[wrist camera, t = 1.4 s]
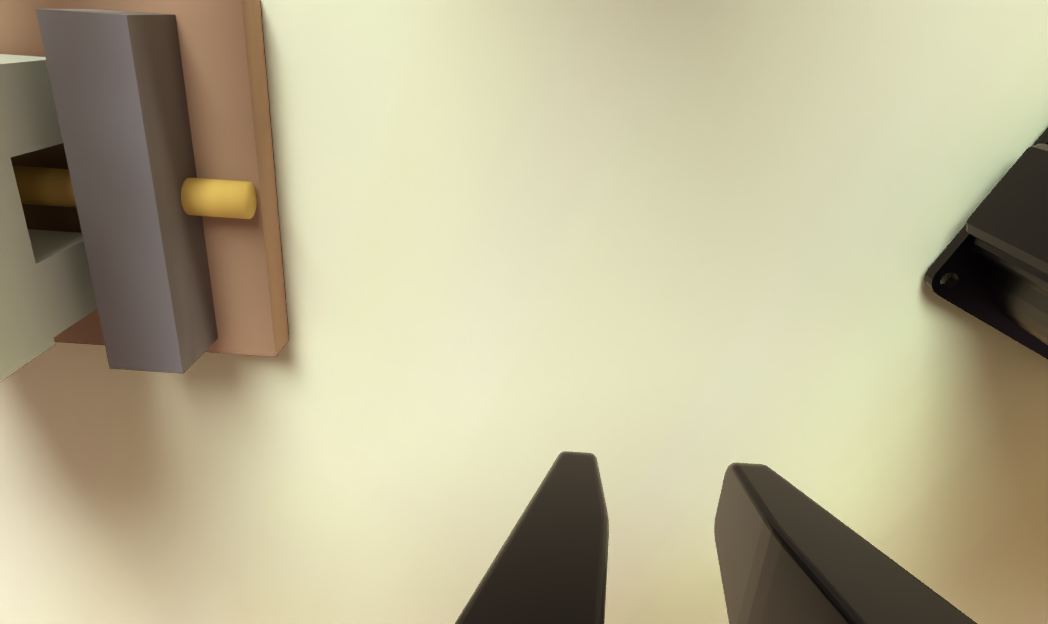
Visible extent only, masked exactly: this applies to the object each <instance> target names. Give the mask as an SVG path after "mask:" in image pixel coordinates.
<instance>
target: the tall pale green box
mask: <svg viewBox="0 0 1048 624" xmlns="http://www.w3.org/2000/svg"><path fill="white" fill-rule="evenodd" d="M62 143H63V139H62V134H61V129H60V125H59V120H58V115H57V110H56V105H55V100H54V96H53V91H52V86H51V81H50V76H49V71H48V67H47V62H46V57H37V56H23V55H8V54H0V382H1V381H3V380H4V379H5V378H7V377H8V376H10V375H11V374H13V373H14V372H16V371H17V370H19V369H20V368H22V367H23V366H25V365H26V364H27V363H29V362H30V361H32V360H33V359H35V358H36V357H38V356H39V355H41V354H42V353H44V352H45V351H47V350H48V349H49V348H51V347H52V346H54V345H55V341H54V337H55V336H57V335H58V334H60V333H61V332H63V331H64V330H66V329H67V328H69V327H70V326H72V325H73V324H75V323H76V322H78V321H79V320H81V319H82V318H84V317H85V316H87V315H88V314H90V313H91V312H93V311H94V310H96V309H97V303H96V299H95V294H94V289H93V284H92V279H91V274H90V270H89V265H88V260H87V255H86V250H85V245H84V241H83V236H82V233H77V232H62V231H47V230H32V229H27V225H26V220H25V216H24V212H23V208H22V204H21V200H20V195H19V191H18V187H17V183H16V179H15V174H14V170H13V166H12V162H11V157H14V156H18V155H22V154H25V153H29V152H33V151H36V150H40V149H44V148H47V147H51V146H55V145H58V144H62Z"/></svg>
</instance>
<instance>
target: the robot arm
mask: <svg viewBox="0 0 1048 624" xmlns="http://www.w3.org/2000/svg"><path fill="white" fill-rule="evenodd" d="M947 273H951V277H950V278H949V280H948V281H947V282H945V283H943V284H940V280H941V279H942V277H943V276H944V275H945V274H947ZM925 284H926V286H927V287H928V288H929V289H930V290H931V291H933V292H934V293H936V294H937V295H939V296H940V297H942V298H944V299H946V300H947V301H949V302H951V303H952V304H954V305H956V306H958V307H959V308H961V309H963V310H964V311H966V312H968V313H970V314H971V315H973V316H975V317H976V318H978V319H980V320H982V321H983V322H985V323H987V324H988V325H990V326H992V327H994V328H995V329H997V330H999V331H1000V332H1002V333H1004V334H1006V335H1007V336H1009V337H1011V338H1012V339H1014V340H1016V341H1018V342H1019V343H1021V344H1023V345H1024V346H1026V347H1028V348H1030V349H1031V350H1033V351H1035V352H1036V353H1038V354H1040V355H1042V356H1043V357H1045V358H1047V359H1048V128H1047V129H1046V130H1045V131H1044V133H1043V134H1042V135H1041V136H1040V137H1039V139H1038V140H1037V141H1036V142H1035V143H1034V144H1033V146H1031V147H1029V148H1028V149H1027V150H1026V151H1025V152H1024V153H1023V155H1022V156H1021V157H1020V158H1019V159H1018V161H1017V162H1016V163H1015V164H1014V165H1013V166H1012V168H1011V169H1010V170H1009V171H1008V172H1007V174H1006V175H1005V176H1004V177H1003V178H1002V180H1001V181H1000V182H999V183H998V184H997V185H996V187H995V188H994V189H993V190H992V191H991V193H990V194H989V195H988V196H987V197H986V199H985V200H984V201H983V202H982V203H981V204H980V206H979V207H978V208H977V209H976V210H975V212H974V213H973V214H972V215H971V216H970V218H969V219H968V220H967V224H966V225H965V226H964V227H963V229H962V230H961V231H960V232H959V233H958V234H957V236H956V237H955V238H954V239H953V240H952V242H951V243H950V244H949V245H948V246H947V248H946V249H945V250H944V251H943V252H942V253H941V255H940V256H939V257H938V258H937V259H936V261H935V262H934V263H933V264H932V265H931V266H930V268H929V269H928V271H927V272H926V274H925ZM714 532H715V542H716V548H717V554H718V560H719V565H720V571H721V577H722V583H723V589H724V595H725V601H726V606H727V612H728V618H729V624H977V623H976V622H974V621H973V620H972V619H970V618H969V617H968V616H966V615H965V614H964V613H962V612H961V611H960V610H958V609H957V608H956V607H954V606H953V605H952V604H950V603H949V602H948V601H946V600H945V599H944V598H942V597H941V596H940V595H938V594H937V593H936V592H934V591H933V590H932V589H930V588H929V587H928V586H926V585H925V584H924V583H922V582H921V581H920V580H918V579H917V578H916V577H914V576H913V575H912V574H910V573H909V572H908V571H906V570H905V569H904V568H902V567H901V566H900V565H898V564H897V563H896V562H894V561H893V560H892V559H890V558H889V557H888V556H886V555H885V554H884V553H882V552H881V551H880V550H878V549H877V548H876V547H874V546H873V545H872V544H870V543H869V542H868V541H866V540H865V539H864V538H862V537H861V536H860V535H858V534H857V533H856V532H854V531H853V530H852V529H850V528H849V527H848V526H846V525H845V524H844V523H842V522H841V521H840V520H838V519H837V518H836V517H834V516H833V515H832V514H830V513H829V512H828V511H826V510H825V509H824V508H822V507H821V506H820V505H818V504H817V503H816V502H814V501H813V500H812V499H810V498H809V497H808V496H806V495H805V494H804V493H802V492H801V491H800V490H798V489H797V488H796V487H794V486H793V485H792V484H790V483H789V482H788V481H786V480H785V479H784V478H782V477H781V476H780V475H778V474H777V473H776V472H774V471H773V470H772V469H770V468H769V467H767V466H765V465H762V464H747V463H732V464H731V465H729V466H728V468H727V470H726V472H725V476H724V480H723V485H722V490H721V494H720V499H719V503H718V508H717V512H716V517H715V525H714ZM608 540H609V520H608V513H607V508H606V503H605V498H604V493H603V488H602V483H601V478H600V473H599V468H598V463H597V458H596V457H595V455H593V454H591V453H581V452H567V451H565V452H562V453H560V454H559V456H558V457H557V459H556V460H555V462H554V464H553V465H552V467H551V468H550V470H549V472H548V473H547V475H546V477H545V478H544V480H543V481H542V483H541V485H540V486H539V488H538V489H537V491H536V493H535V494H534V496H533V498H532V499H531V501H530V502H529V504H528V506H527V507H526V509H525V511H524V512H523V514H522V515H521V517H520V519H519V520H518V522H517V524H516V525H515V527H514V528H513V530H512V532H511V533H510V535H509V537H508V538H507V540H506V541H505V543H504V545H503V546H502V548H501V550H500V551H499V553H498V554H497V556H496V558H495V559H494V561H493V563H492V564H491V566H490V567H489V569H488V571H487V572H486V574H485V576H484V577H483V579H482V580H481V582H480V584H479V585H478V587H477V589H476V590H475V592H474V593H473V595H472V597H471V598H470V600H469V602H468V603H467V605H466V606H465V608H464V610H463V611H462V613H461V615H460V616H459V618H458V619H457V621H456V623H455V624H604V619H605V599H606V580H607V560H608Z"/></svg>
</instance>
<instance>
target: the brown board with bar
mask: <svg viewBox="0 0 1048 624" xmlns="http://www.w3.org/2000/svg"><path fill="white" fill-rule="evenodd" d="M0 54H8V55H23V56H37V57H46V62H47V67H48V71H49V76H50V81H51V86H52V91H53V96H54V100H55V105H56V110H57V115H58V120H59V125H60V129H61V134H62V139H63V143H62V144H58V145H55V146H51V147H47V148H44V149H40V150H36V151H33V152H29V153H25V154H22V155H18V156H14V157H11V162H12V166H13V170H14V174H15V179H16V183H17V187H18V191H19V195H20V200H21V204H22V208H23V212H24V216H25V220H26V225H27V229H32V230H47V231H62V232H77V233H82V236H83V241H84V245H85V250H86V255H87V260H88V265H89V270H90V274H91V279H92V284H93V289H94V294H95V299H96V303H97V309H96V310H94V311H93V312H91V313H90V314H88V315H87V316H85V317H84V318H82V319H81V320H79V321H78V322H76V323H75V324H73V325H72V326H70V327H69V328H67V329H66V330H64V331H63V332H61V333H60V334H58V335H57V336H55V337H54V341H55V342H65V343H80V344H95V345H105V347H106V352H107V357H108V361H109V366H110V369H125V370H140V371H155V372H169V373H184V372H185V371H186V370H187V369H188V368H189V367H190V366H191V365H192V364H193V363H194V362H195V361H196V360H197V359H198V358H199V357H200V356H201V355H202V354H203V353H204V352H214V353H229V354H244V355H259V356H273V357H276V355H277V354H278V353H279V352H280V350H281V349H282V348H283V346H284V345H285V344H286V343H287V341H288V340H289V334H288V322H287V310H286V299H285V287H284V275H283V264H282V252H281V240H280V228H279V217H278V205H277V193H276V181H275V170H274V158H273V146H272V135H271V123H270V111H269V99H268V88H267V76H266V64H265V53H264V41H263V29H262V17H261V6H260V0H0Z"/></svg>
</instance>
